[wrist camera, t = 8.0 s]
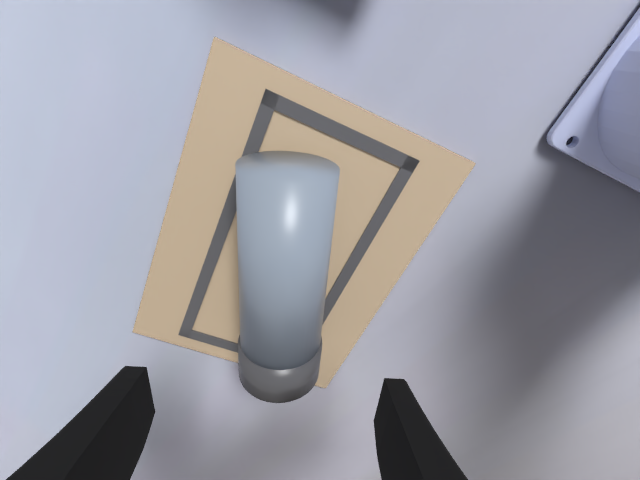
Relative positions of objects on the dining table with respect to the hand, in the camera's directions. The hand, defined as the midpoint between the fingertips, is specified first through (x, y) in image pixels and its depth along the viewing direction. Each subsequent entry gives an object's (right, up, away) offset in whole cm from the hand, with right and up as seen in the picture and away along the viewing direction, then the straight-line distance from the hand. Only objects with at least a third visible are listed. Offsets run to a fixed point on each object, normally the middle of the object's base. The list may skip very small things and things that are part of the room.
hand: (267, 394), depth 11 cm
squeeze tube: (0, +4, +7) cm, 8 cm away
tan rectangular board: (0, +4, +7) cm, 8 cm away
